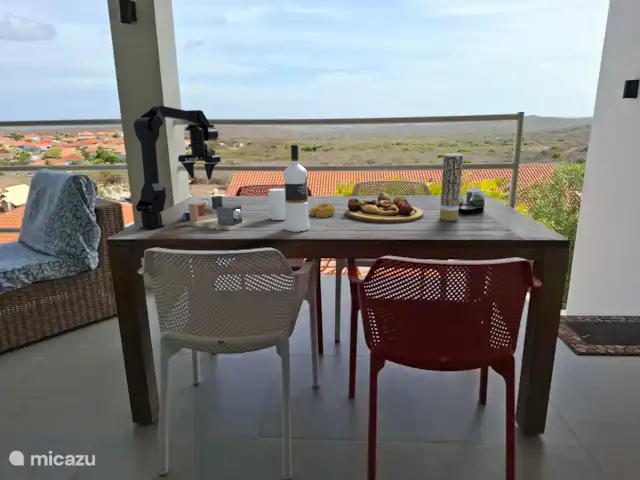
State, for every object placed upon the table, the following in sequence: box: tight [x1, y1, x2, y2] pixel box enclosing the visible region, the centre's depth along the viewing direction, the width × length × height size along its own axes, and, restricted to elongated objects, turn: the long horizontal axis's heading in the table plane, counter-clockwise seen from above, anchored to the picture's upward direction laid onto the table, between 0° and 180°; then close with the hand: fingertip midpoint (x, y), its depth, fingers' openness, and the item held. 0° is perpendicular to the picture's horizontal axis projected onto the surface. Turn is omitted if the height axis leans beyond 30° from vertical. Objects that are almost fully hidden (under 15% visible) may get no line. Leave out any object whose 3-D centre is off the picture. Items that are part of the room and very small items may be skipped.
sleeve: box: [216, 203, 243, 226], centre depth 153 cm, size 7×6×7 cm
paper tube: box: [439, 153, 464, 222], centre depth 156 cm, size 7×7×25 cm
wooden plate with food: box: [345, 191, 424, 224], centre depth 169 cm, size 32×32×8 cm
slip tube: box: [204, 195, 243, 219], centre depth 153 cm, size 15×4×8 cm, turn 64°
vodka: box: [283, 144, 311, 233], centre depth 144 cm, size 9×9×30 cm
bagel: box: [308, 202, 337, 218], centre depth 170 cm, size 10×11×5 cm
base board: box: [186, 216, 248, 231], centre depth 157 cm, size 21×10×1 cm, turn 64°
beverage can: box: [267, 187, 286, 221], centre depth 163 cm, size 8×8×12 cm
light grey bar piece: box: [182, 195, 212, 222], centre depth 176 cm, size 5×7×25 cm
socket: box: [188, 200, 209, 222], centre depth 159 cm, size 4×6×7 cm, turn 154°
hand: (201, 179), depth 175 cm, fingers open, 9 cm apart
